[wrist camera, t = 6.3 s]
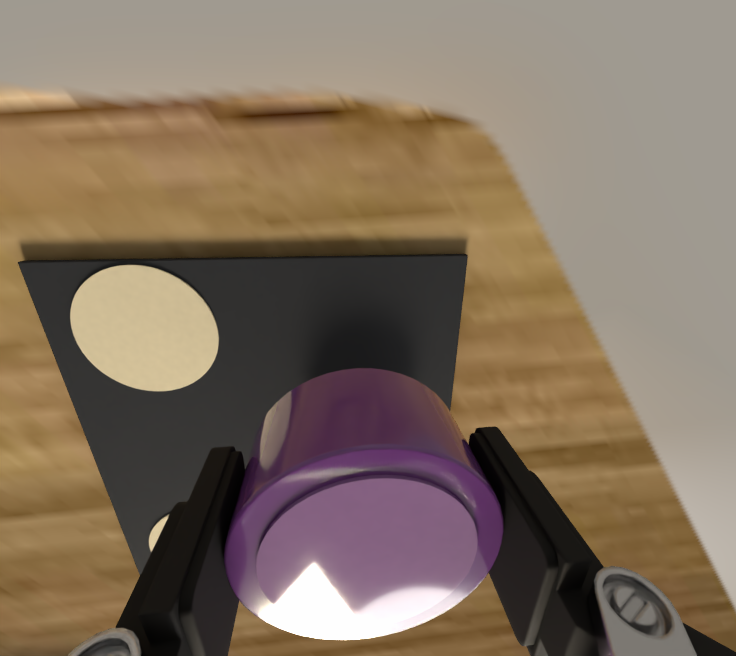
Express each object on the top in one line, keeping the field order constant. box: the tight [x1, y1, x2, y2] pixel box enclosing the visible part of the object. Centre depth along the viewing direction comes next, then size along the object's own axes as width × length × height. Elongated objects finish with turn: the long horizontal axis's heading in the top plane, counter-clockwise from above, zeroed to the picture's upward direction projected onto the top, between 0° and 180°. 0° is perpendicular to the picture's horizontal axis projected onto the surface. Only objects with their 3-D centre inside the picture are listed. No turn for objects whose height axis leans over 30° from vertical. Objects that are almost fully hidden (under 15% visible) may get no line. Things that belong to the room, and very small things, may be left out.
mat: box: [18, 254, 468, 575], centre depth 22 cm, size 22×24×1 cm
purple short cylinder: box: [224, 368, 504, 640], centre depth 9 cm, size 6×6×3 cm
